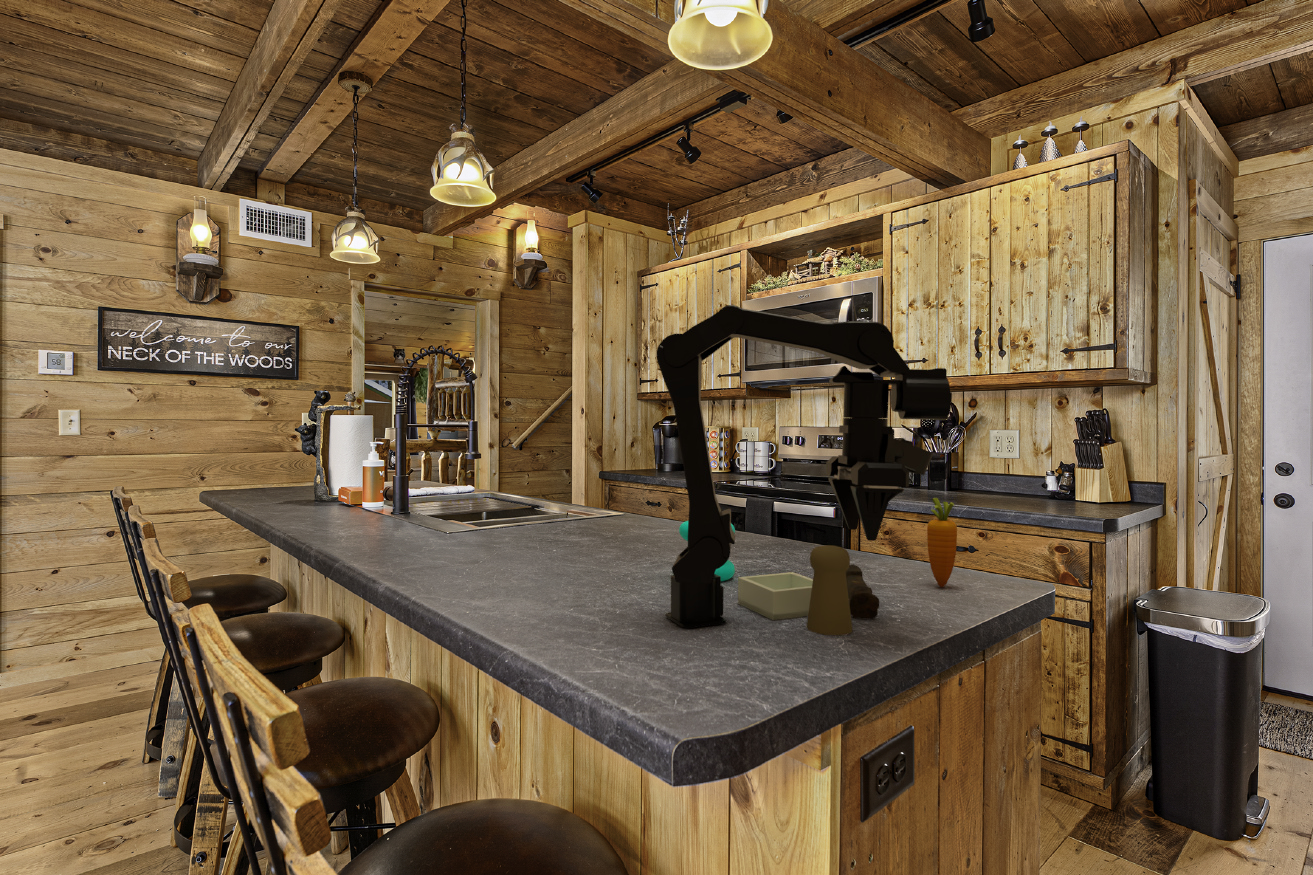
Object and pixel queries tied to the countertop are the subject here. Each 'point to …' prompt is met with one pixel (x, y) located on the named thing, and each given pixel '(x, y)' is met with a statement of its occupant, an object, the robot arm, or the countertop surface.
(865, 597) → the dark brown lumpy bar
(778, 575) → the tray
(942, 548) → the carrot
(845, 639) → the countertop surface
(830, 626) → the cork
